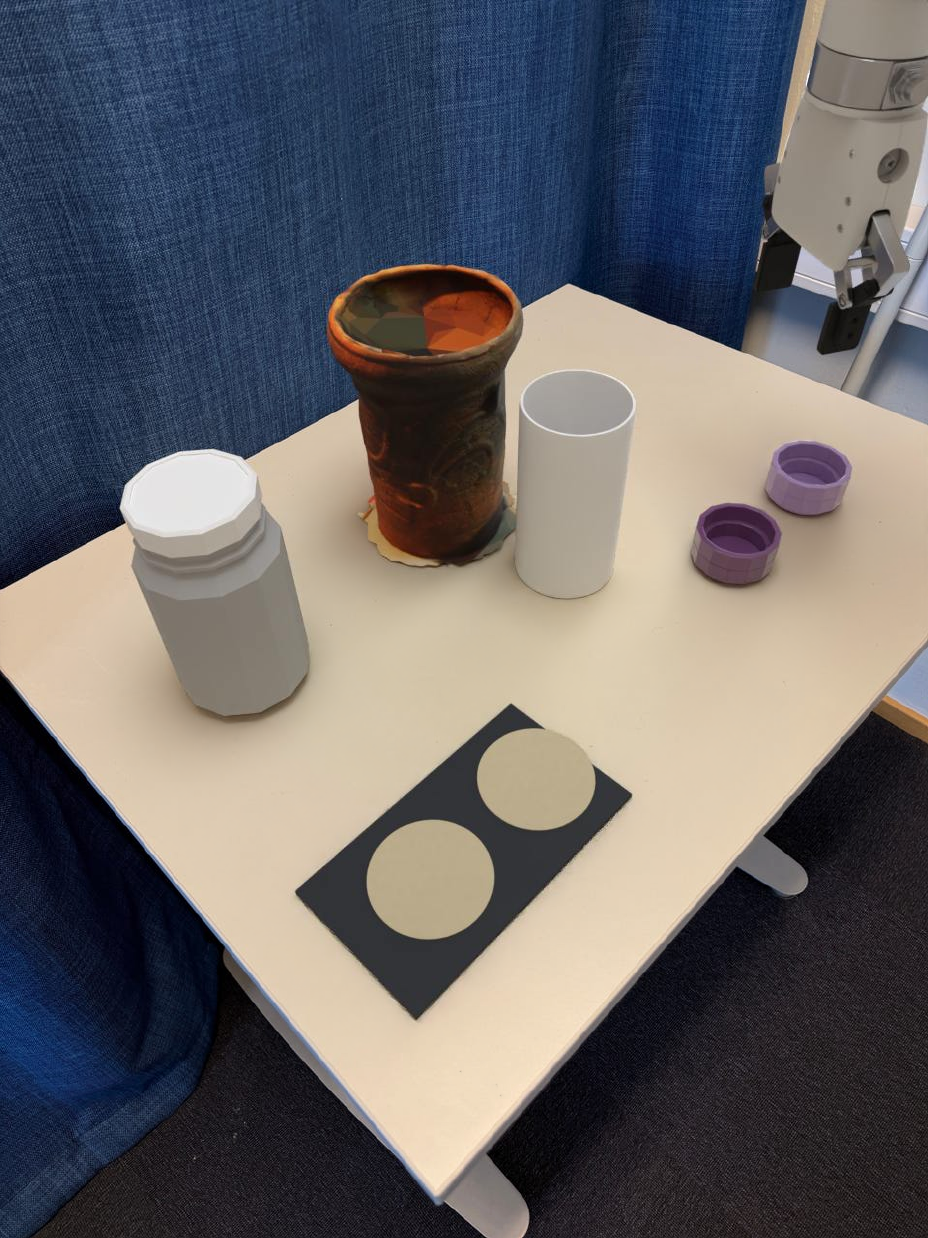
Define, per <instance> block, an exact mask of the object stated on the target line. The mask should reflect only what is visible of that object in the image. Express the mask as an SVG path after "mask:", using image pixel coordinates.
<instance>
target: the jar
mask: <svg viewBox="0 0 928 1238" xmlns="http://www.w3.org/2000/svg"><path fill="white" fill-rule="evenodd" d="M122 492H123V493H122V496H121V501H120V505H119V510H120V512H121V515H122V517H123V520H124V522H125V524H126V527H127V529H128V531H129V532H130V533H131V535H132V537H133V538H132V543H133V546H134V551H133V556H132V559H131V560H132V561H131V564H130V567H131V569H132V572H133V574H134V577H135V579H136V581H137V584H138V587H139V588H140V590H141V593H142V595H143V597H144V600H145V602H146V604H147V608H148V609H149V611H150V614H151V616H152V619H153V621H154V623H155V626H156V629H157V631H158V633H159V635H160V638H161V640H162V643H163V645H164V648H165V650H166V652H167V655H168V657H169V660H170V662H171V665H172V667H173V669H174V671H175V674H176V676H177V679H178V680H179V683H180V684H181V686H182V688H183V689H184V690H185V692H186V694H187V695H188V697H189V698H190V700H191V702H192V703H193V705H195V706H196V707H197V706H198V707H200V708H202V709H205V710H208V711H211V712H212V713H215V714H218V715H220V716H223V717H226V716H228V717H229V716H238V715H240V716H241V715H249V714H260V713H262V712H264V711H266V710H267V709H269V708H271V707H273V706H275V705H277V704H278V703H280V702H282V701H284V700H286V699H288V698H289V697H290V696H291V695H292V694H293V693H294V691H295V690H296V688H297V687H298V686H299V684H300V683H301V682H302V680H303V679H304V677H305V676H306V675H307V673H308V672H309V666H310V665H309V663H310V662H309V661H310V660H309V659H310V658H309V656H310V643H309V639H308V635H307V631H306V626H305V622H304V617H303V614H302V610H301V605H300V602H299V601H300V600H299V597H298V592H297V588H296V585H295V584H296V583H295V581H294V576H293V572H292V568H291V563H290V559H289V554H288V550H287V546H286V543H285V538H284V537H285V536H284V534H283V528H282V526H281V525H280V524H279V522H278V521H277V520H276V519H275V518H274V517H273V516H272V514H271V513H270V512H269V511H268V510H267V507H266V506H265V505H264V503H263V502H262V499H263V492H262V488H261V485H260V480H259V476H258V474H257V472H256V471H255V470H254V469H253V468H252V467H251V465H249V463H247V461H246V460H245V459H244V458H243V457H242V456H239V455H237V454H233V453H229V452H225V451H222V450H219V449H215V448H207V449H194V450H183V451H177V452H175V453H172V454H169V455H167V456H165V457H162V458H160V459H157V460H155V461H153V462H150V463H147V464H146V465H145V466H144V467H143V468H141V470H139V471H138V473H136V474H135V475H134V476H133V477H132V478H131V479H130V480H129V481H128V482H127V483H126V484H125V485H124V488H123V491H122Z"/></svg>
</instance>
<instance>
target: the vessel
mask: <svg viewBox="0 0 928 1238" xmlns="http://www.w3.org/2000/svg"><path fill="white" fill-rule="evenodd" d="M523 312H524V311H523V308H522V303H521V301H520V300H519V298H518V297H517V295H516V293H515V292H514V291H513V290H512V289H511V288H510V286H509V285H508V284H507V283H506V282H505V281H503V280H502V279H501V278H499V277H498V275H495V274H491V273H489V272H486V271H485V270H481V269H475V268H469V267H463V266H459V265H454V264H430V263H422V264H410V265H400V266H394V267H390V268H385V269H384V268H383V269H381V270H380V271H378V272H376V273H373V274H366V275H365V276H363V277H360V278H359V279H358V280H356V281H355V282H353V284H351V285H350V286H349V287H348V288H347V289H346V290H344V291H343V292H341V293H340V294H338V295H337V296H336V297H335V298H334V301H333V302H332V304H331V307H330V309H329V310H328V316H327V318H328V319H327V326H326V336H327V341H328V344H329V348H330V350H331V353H332V355H333V357H334V359H335V360H336V361H337V363H338V364H339V366H340V367H342V369H344V370H345V372H346V373H347V374H349V375H350V379H351V381H352V384H353V387H354V388H355V390H356V391H357V394H358V420H359V423H360V430H361V435H362V440H363V444H364V447H365V451H366V457H367V463H368V464H367V465H368V471H369V477H370V481H371V483H372V487H373V488H372V489H373V495H372V496H371V497H370V498H369V499H368V501H367V504H369V505H370V506H369V508H368V509H367V510H366V511H365V512H361V511H358V513H357V516H359V517H360V518H361V519H362V521H364V522H365V523H366V524H367V540H368V541H369V542H371V543H374V544H375V545H376V550H377V551H378V552H379V555H381V556H383V557H384V558H387V560H389V561H390V562H401V563H403V564H406V565H407V566H417V567H425V566H434V567H437V566H439V565H442V564H444V563H445V564H447V565H449V564H450V563H451V562H453V563H455V564H458V565H461V566H462V565H464V564H467V563H468V562H471V561H474V560H479V559H483V558H484V555H485V554H487V555H488V554H491V553H493V552H494V551H496V550H502V546H503V542H504V539H505V538H506V537H508V536H509V534H510V533H511V532H513V531H514V530H515V529H516V510H517V508H515V507H513V506H512V505H513V503H514V502H515V501H516V498H515V497H514V496H512V495H511V494H510V487H509V482H506V481H504V469H505V468H504V467H505V458H506V437H507V407H506V368H507V365H508V364H509V361H510V359H511V357H512V356H513V354H514V353H515V351H516V349H517V346H518V344H519V342H520V340H521V337H522V335H523V330H524V313H523Z"/></svg>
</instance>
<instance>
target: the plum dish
mask: <svg viewBox="0 0 928 1238" xmlns="http://www.w3.org/2000/svg"><path fill="white" fill-rule="evenodd" d="M782 535H783V532H782V530H781V528H780V526H779V524H778V522H777V520H776V519H775V518H774V517H773V516H771V515H770V514H769V513H768V512H766V510H763V509H761V508H759V507H756V506H753V505H751V504H748V503H743V502H742V503H740V502H728V501H727V502H723V503H718V504H715V505H712V506H709V507H708V508H707V509H705V510H704V511H703V512H702V513H700V515H699V516H698V520H697V523H696V526H695V530H694V534H693V540H692V544H691V547H690V554H691V556H692V559H693V562H694V564H695V566H696V567H697V568H698V569H699V570H700V571H701V572H703V573H704V574H705V575H706V576H707V577H710V578H712V579H713V580H716V581H718V582H721V583H724V584H729V585H746V584H750V583H754V582H757V581H761V580H762V579H763V578H765V577H766V576H767V574H769V573H770V572H771V571H772V569H773V566H774V563H775V560H776V557H777V554H778V551H779V548H780V545H781V539H782Z"/></svg>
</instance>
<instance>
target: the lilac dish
mask: <svg viewBox="0 0 928 1238" xmlns="http://www.w3.org/2000/svg"><path fill="white" fill-rule="evenodd" d="M852 471H853V466H852V464H851V462H850V460H849V459H848V457H847V455H845V454H844V453H843V452H841V451H840V450H838V449H837V448H835V447H834V446H832V445H828V444H825V443H823V442H819V441H815V440H804V439H803V440H801V439H797V440H794V441H790V442H786V443H783V444H782V445H780V446H779V447H778V448H776V449H775V450H774V451H773V453H772V457H771V461H770V464H769V467H768V471H767V475H766V478H765V483H764V488H765V491H766V493H767V494H768V497H769V498H770V499H771V500H772V501H773V502H774V503H775V504H776V505H777V506H778V507H780V508H782V509H784V510H785V511H787V512H790V513H793V514H795V515H802V516H816V515H817V516H818V515H821V514H825V513H828V512H831V511H833V510H834V509H836V508H837V507H838V506H839V505H841V503H842V502H843V500H844V499H843V498H844V497H845V494H846V491H847V488H848V486H849V483H850V480H851V478H852Z"/></svg>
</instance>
